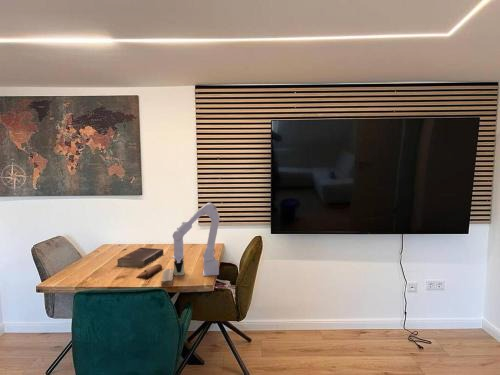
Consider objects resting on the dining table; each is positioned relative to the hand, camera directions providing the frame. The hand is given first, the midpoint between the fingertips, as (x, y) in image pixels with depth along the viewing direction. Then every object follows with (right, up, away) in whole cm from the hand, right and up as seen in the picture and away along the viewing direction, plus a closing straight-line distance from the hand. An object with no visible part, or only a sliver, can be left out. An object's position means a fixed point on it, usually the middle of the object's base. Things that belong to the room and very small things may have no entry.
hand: (179, 270), depth 189 cm
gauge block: (0, -2, 0) cm, 2 cm away
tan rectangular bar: (-5, -3, -8) cm, 10 cm away
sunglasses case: (-19, -3, +1) cm, 19 cm away
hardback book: (-33, -1, +28) cm, 43 cm away
